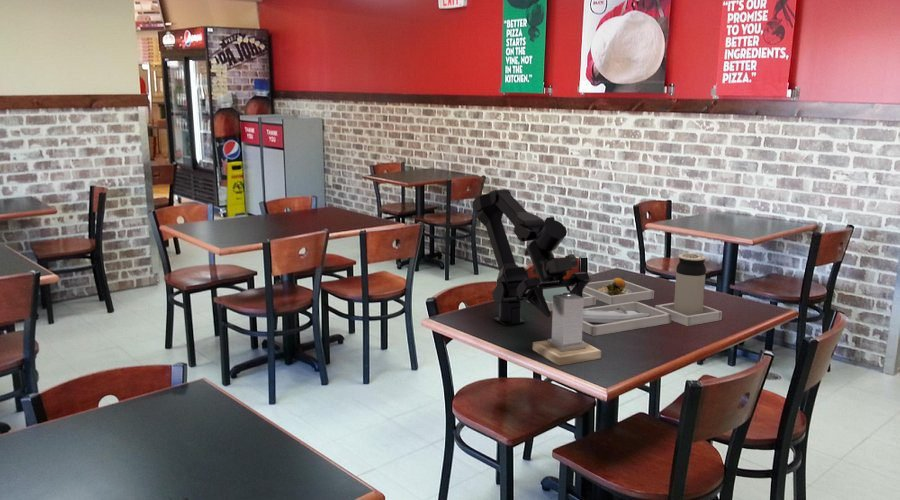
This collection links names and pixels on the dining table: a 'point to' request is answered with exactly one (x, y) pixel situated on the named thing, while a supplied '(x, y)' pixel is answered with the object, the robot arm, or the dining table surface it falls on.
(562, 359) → the stand
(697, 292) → the travel mug
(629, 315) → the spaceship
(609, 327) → the casing tray rim
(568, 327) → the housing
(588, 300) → the coaster tray rim
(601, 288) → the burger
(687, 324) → the mug tray rim
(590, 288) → the tray
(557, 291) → the right angle wall
